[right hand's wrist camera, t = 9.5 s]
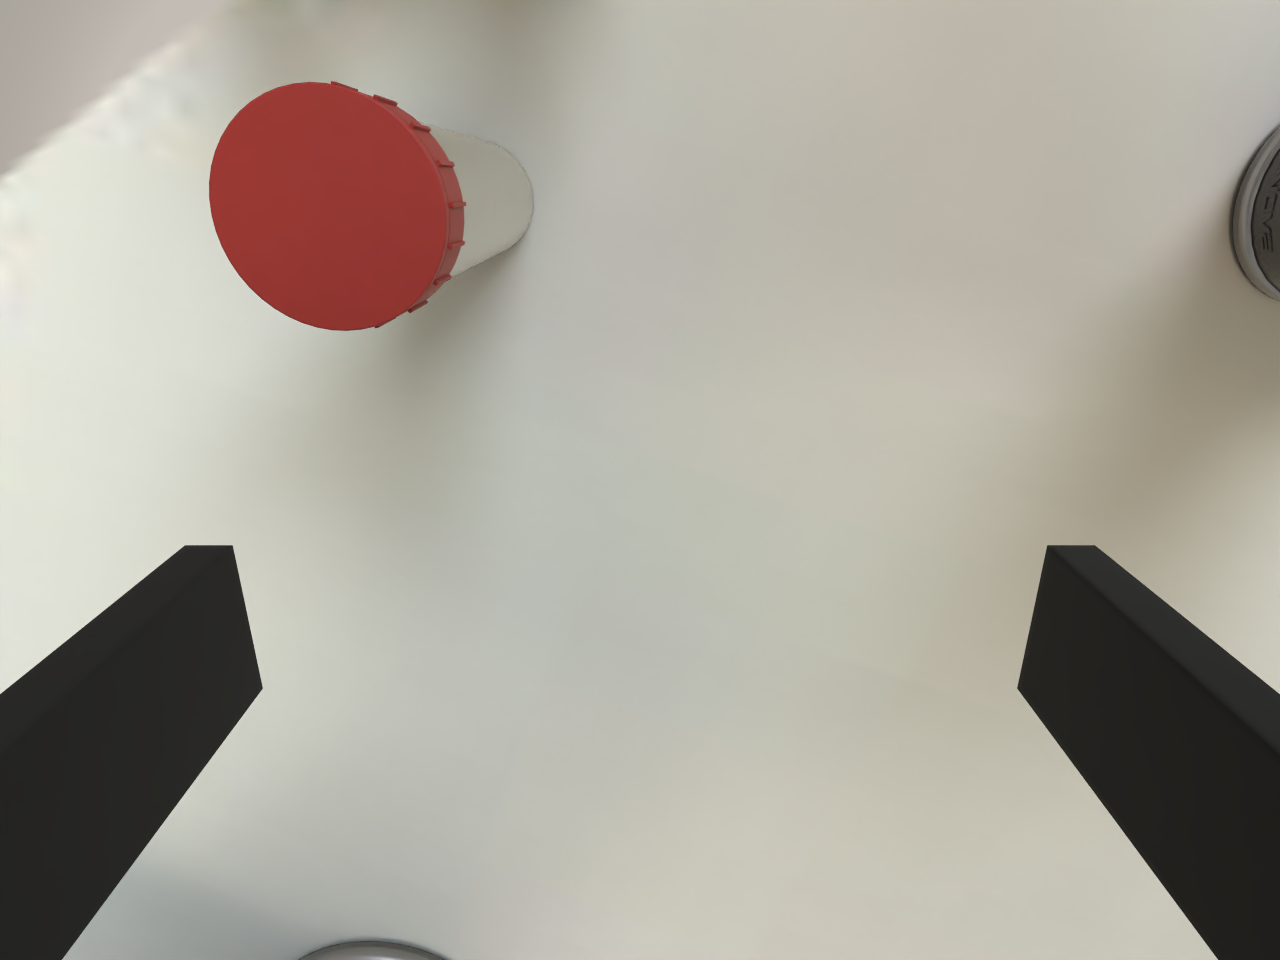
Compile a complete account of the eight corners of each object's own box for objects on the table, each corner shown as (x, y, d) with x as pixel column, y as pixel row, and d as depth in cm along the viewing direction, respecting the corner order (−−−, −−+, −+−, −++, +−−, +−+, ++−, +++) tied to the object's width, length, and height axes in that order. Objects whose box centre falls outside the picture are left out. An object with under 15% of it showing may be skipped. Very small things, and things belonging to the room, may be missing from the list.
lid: (313, 38, 18) (274, 20, 16) (509, 187, 19) (495, 187, 17) (211, 232, 20) (164, 237, 18) (398, 360, 21) (374, 378, 19)
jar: (461, 115, 33) (291, 47, 17) (554, 187, 34) (479, 189, 18) (404, 211, 35) (193, 235, 18) (495, 277, 36) (374, 356, 19)
